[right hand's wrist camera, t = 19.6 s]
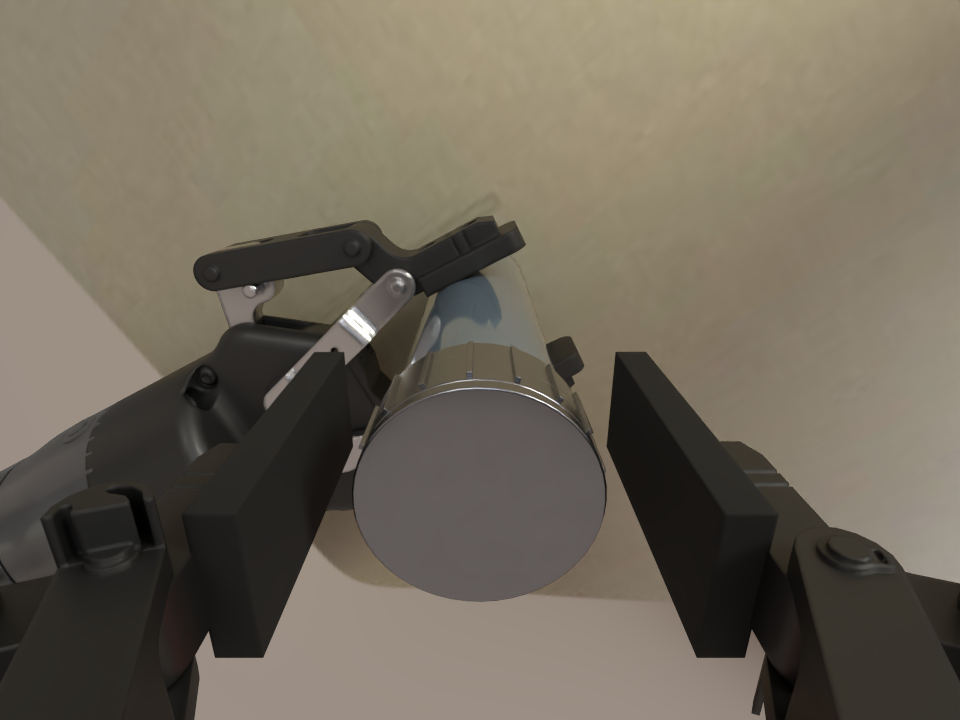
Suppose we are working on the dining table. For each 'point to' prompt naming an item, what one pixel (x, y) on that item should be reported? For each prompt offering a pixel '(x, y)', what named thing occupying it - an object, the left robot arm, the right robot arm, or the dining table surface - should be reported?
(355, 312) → the left robot arm
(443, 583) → the lid
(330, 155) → the dining table surface
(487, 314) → the blue thermos bottle
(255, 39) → the dining table surface
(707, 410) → the dining table surface
